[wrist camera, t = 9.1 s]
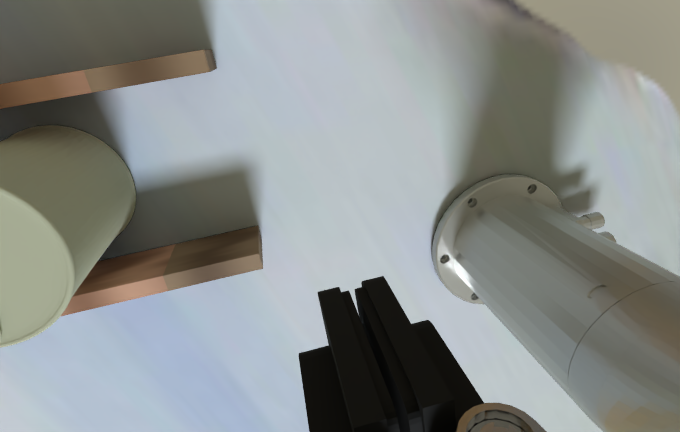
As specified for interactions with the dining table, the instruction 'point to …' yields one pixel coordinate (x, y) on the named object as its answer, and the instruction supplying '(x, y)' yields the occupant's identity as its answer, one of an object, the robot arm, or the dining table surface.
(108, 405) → the dining table surface
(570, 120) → the dining table surface
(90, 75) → the channel
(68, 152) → the can
